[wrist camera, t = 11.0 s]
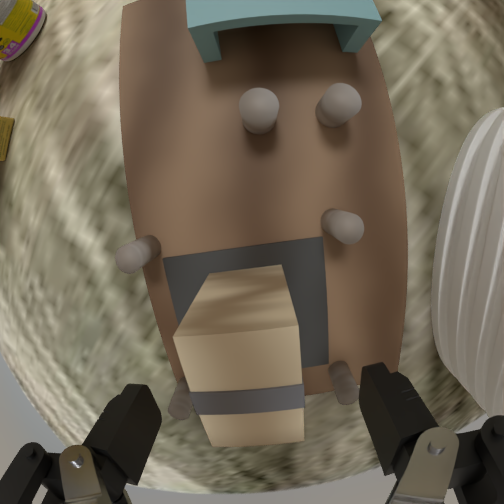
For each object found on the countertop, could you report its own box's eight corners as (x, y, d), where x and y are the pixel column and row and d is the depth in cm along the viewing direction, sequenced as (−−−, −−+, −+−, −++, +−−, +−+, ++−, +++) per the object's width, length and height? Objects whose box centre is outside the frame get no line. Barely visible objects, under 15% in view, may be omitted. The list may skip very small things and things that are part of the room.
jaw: (282, 264, 15) (300, 326, 8) (291, 355, 16) (306, 442, 9) (208, 273, 15) (170, 338, 8) (226, 362, 16) (210, 448, 9)
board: (340, -15, 11) (353, -47, 7) (391, 366, 18) (412, 399, 14) (129, 13, 12) (106, -14, 8) (188, 394, 19) (176, 431, 15)
